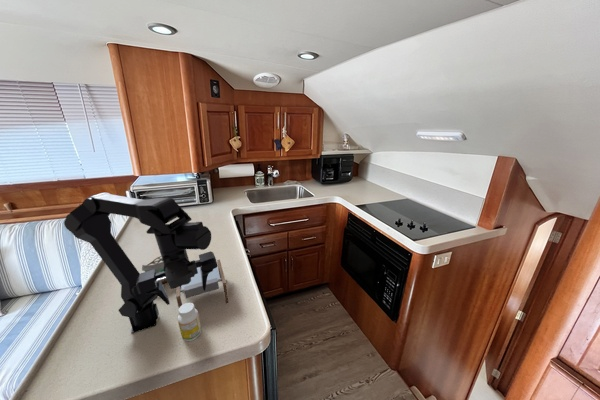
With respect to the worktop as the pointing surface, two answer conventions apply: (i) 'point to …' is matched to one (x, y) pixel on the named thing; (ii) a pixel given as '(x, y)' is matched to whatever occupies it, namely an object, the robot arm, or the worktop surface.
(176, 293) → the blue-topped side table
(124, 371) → the worktop surface
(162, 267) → the food container
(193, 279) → the grey flat block
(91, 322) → the worktop surface
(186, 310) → the supplement bottle
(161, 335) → the worktop surface
